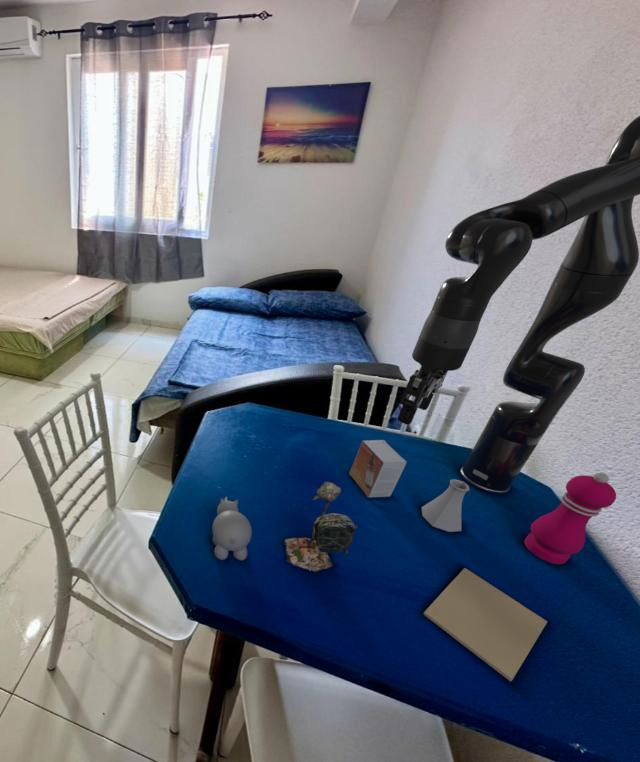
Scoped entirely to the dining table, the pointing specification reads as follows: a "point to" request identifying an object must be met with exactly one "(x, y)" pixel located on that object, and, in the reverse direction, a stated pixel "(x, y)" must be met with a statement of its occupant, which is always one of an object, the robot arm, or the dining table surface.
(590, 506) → the pepper mill
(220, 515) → the round bodied animal figurine
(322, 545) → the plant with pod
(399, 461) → the small box
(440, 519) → the flask
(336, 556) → the dining table surface
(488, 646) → the mat
